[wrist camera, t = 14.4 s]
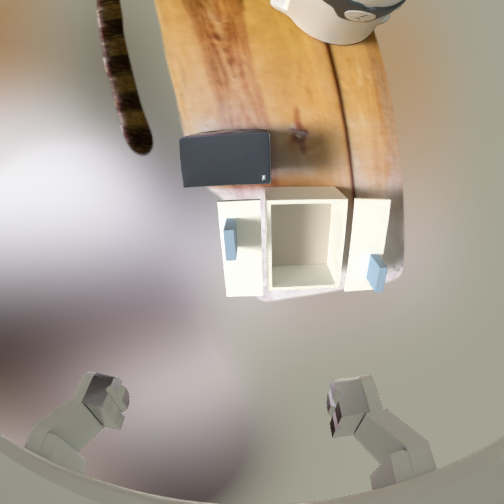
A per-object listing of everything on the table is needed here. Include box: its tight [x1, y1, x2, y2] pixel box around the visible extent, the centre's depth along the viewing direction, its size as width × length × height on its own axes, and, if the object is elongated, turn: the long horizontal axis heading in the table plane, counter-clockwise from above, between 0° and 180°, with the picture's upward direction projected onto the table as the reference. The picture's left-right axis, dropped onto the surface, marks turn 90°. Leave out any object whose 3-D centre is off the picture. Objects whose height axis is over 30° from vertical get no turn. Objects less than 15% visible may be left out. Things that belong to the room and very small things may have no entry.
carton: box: [264, 186, 348, 291], centre depth 42 cm, size 14×11×7 cm
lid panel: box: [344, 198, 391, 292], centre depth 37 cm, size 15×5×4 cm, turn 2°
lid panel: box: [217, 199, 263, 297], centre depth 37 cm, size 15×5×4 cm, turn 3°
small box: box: [179, 129, 271, 188], centre depth 35 cm, size 11×6×10 cm, turn 92°
